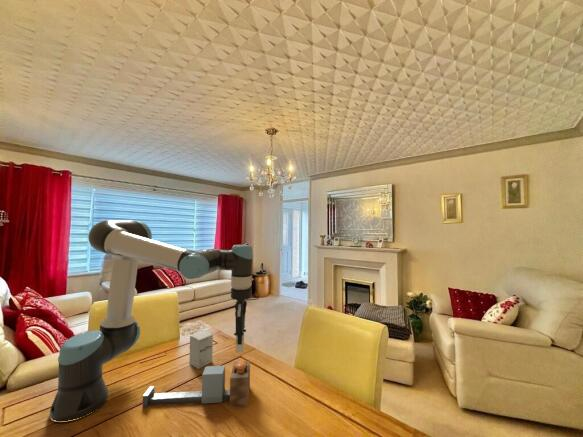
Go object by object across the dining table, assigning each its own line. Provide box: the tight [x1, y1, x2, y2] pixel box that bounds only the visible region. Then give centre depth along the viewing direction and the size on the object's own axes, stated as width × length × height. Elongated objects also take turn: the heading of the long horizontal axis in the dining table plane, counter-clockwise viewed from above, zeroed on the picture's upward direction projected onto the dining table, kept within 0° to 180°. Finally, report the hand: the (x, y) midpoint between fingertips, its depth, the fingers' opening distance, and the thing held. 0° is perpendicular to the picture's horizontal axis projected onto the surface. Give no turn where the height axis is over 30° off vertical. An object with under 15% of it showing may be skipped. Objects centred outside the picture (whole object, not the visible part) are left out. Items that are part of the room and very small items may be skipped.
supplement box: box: [189, 330, 214, 370], centre depth 112 cm, size 7×7×13 cm
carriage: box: [201, 365, 226, 404], centre depth 89 cm, size 7×5×10 cm
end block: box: [229, 360, 251, 409], centre depth 89 cm, size 6×10×10 cm, turn 5°
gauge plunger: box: [235, 361, 246, 373], centre depth 90 cm, size 4×4×6 cm
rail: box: [142, 385, 230, 409], centre depth 88 cm, size 30×5×4 cm, turn 95°
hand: (239, 351), depth 90 cm, fingers closed
